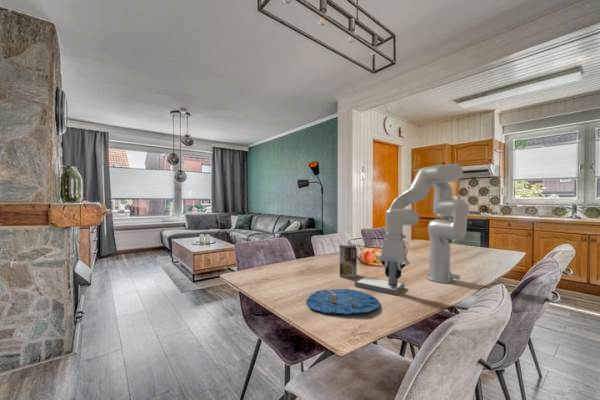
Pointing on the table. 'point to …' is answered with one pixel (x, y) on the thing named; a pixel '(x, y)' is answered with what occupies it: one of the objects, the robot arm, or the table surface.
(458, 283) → the table surface
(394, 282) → the marker
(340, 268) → the coffee box
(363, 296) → the decorative plate
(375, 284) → the drawing board
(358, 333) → the table surface
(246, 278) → the table surface
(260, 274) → the table surface
